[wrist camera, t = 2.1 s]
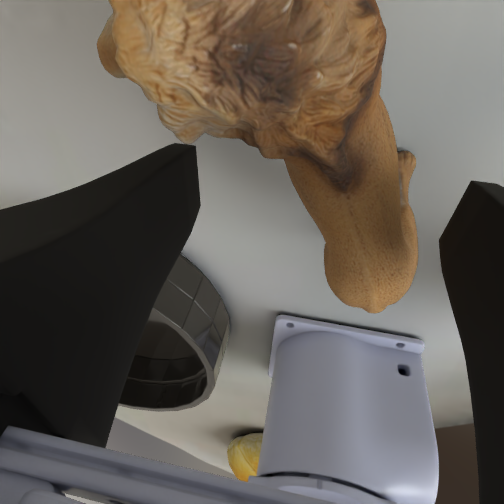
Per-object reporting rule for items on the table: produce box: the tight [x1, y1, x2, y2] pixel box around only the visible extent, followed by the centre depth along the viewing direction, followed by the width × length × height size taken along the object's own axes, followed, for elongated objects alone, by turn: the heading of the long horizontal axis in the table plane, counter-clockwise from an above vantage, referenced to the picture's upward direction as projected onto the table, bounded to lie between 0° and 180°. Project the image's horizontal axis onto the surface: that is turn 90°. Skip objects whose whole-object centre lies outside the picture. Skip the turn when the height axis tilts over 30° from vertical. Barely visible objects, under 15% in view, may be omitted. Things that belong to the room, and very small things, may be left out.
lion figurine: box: [97, 0, 418, 313], centre depth 11 cm, size 15×5×9 cm, turn 37°
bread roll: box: [227, 433, 263, 482], centre depth 38 cm, size 8×9×4 cm
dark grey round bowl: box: [118, 254, 230, 411], centre depth 24 cm, size 16×16×4 cm
